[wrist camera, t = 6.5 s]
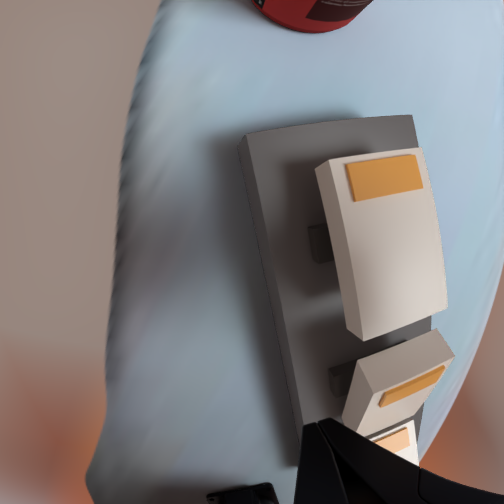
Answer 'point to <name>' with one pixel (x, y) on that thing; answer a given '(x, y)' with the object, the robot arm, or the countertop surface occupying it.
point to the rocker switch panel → (314, 256)
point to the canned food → (311, 13)
